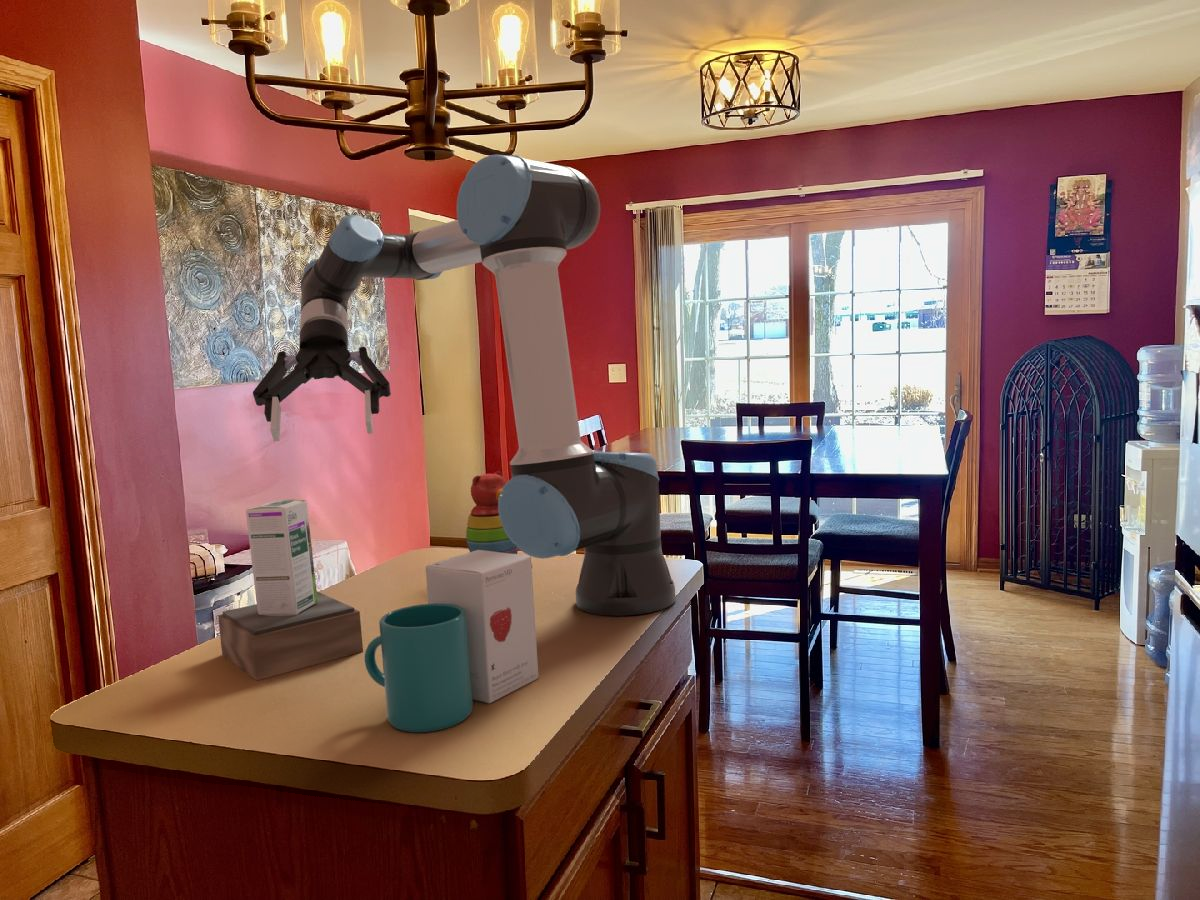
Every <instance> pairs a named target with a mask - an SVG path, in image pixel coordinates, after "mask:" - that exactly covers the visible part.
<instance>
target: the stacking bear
mask: <svg viewBox="0 0 1200 900" xmlns="http://www.w3.org/2000/svg"><path fill="white" fill-rule="evenodd" d="M507 482H508V481H507V479H505V478H504V477H503V474H502V473H501V471H495V472H493V473H484V474H481V475H476V476H474V477H473V478H472V484H471V487H470V495H471V498H472V500H473V502H474V504H475V506H474V507H473V508H472V509H471V510H470V513H469V515H468V517H467V527H466V532H465V533H466V535H465V536H466V537H465V538H466V544H467V548H468V551H469V552H473V551H476V550H485V551H493V552H501V553H509V554H519V548H518V546H517V545H516V544H513V543H512V541H511V540H510V539H509V537H508V536H507V534H506V533H505V531H504V529H503V526H502V523H501V520H500V517H499V510H498V501H499V496H500V494H502V493H503V492H502V489H503V487H504V485H505V484H506V483H507Z"/></svg>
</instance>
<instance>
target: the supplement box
mask: <svg viewBox="0 0 1200 900" xmlns="http://www.w3.org/2000/svg"><path fill="white" fill-rule="evenodd" d="M425 576H426V590H427V604H433V603H443V604H453V605H457V606H460V607H462V608H464V609H465V611H466V620H467V633H468V646H469V659H470V673H471V686H472V700H473V701H474V700H475V701H479V702H483V703H485V704H492V703H494V702H496V701H498V700H499V699H501V698H503V697H505V696H507V695H509V694H511V693H512V692H515V691H517V690H518V689H520V688H523V687H524V686H526V685H528V684H530V683H532V682H534V681H536V680H537V679H539V664H538V663H539V662H538V649H537V648H538V647H537V634H536V633H537V630H536V615H535V600H534V597H535V596H534V584H533V563H532V556H529V555H527V554H519V553H517V554H509V553H501V552H493V551H485V550H476V551H473V552H470V551H469V552H467V553H464V554H459V555H455V556H451V557H449V558H447V559H443V560H439V561H436V562H434V563H430V564H427V565H426V566H425Z"/></svg>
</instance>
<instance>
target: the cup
mask: <svg viewBox="0 0 1200 900" xmlns="http://www.w3.org/2000/svg"><path fill="white" fill-rule="evenodd" d="M378 624H379V633H380V634H379V635H378V636H376V637H375V638H373V639H372V640H371V641H370V642H369V643H368V645H367V647H366V649H365V651H364V665H365V669H366V671H367V673H368V675H369V676H370V678H371V679H372V680H373V681H374V683H376V684H377V685H379V686H381V687H384V693H385V695H384V696H385V704H386V715H387V720H388V723H389V724H390V725H391V726H392V727H394V728H396V729H398V730H400V731H403V732H404V731H405V732H408V733H409V732H410V733H429V732H436V731H441V730H445V729H449V728H450V727H451V728H452V727H453V726H456V725H458V724H460V723H462V722H463V721H465V720H466V719H467V718H468V717H469V716H470V715H471V713H472V711H473V706H474V704H473V701H474V699H472V686H471V673H470V659H469V646H468V633H467V620H466V611H465V609H464V608H462V607H460V606H457V605H453V604H443V603H433V604H428V603H422V604H416V605H415V604H414V605H408V606H405V607H401V608H398V609H395V610H392V611H390V612H387V613H386V614H384V615H383V616H381V618H380V619H379V623H378ZM379 647H381V658H382V667H383V668H382V670H383V672H382V671H381V670H380V667H379V666H378V664H377V660H376V652H377V649H378V648H379Z"/></svg>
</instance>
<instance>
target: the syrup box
mask: <svg viewBox="0 0 1200 900" xmlns="http://www.w3.org/2000/svg"><path fill="white" fill-rule="evenodd" d="M308 512H309V511H308V503H307V501H306V500H304V499H280V500H272V501H268V502H266V503H264V504H260V505H257V506H254V507H250V508H247V509H246V510H245V514H246V515H245V516H246V525H247V531H248V541H249V549H250V558H251V568H252V575H253V583H254V591H255V593H254V594H255V598H256V599H255V600H256V604H257V609H258V614H259V615H267V616H287V615H298V614H299V613H300V612H301V611H303V610H305V609H307V608H308V607H310V606H312V605H314V604H316V603H317V602H318V599H317V592H318V591H317V584H316V581H317V580H316V575H315V574H316V573H315V567H314V566H315V565H314V564H315V563H314V556H313V548H312V547H313V546H312V539H311V528H310V521H309V520H310V519H309V513H308Z"/></svg>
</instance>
